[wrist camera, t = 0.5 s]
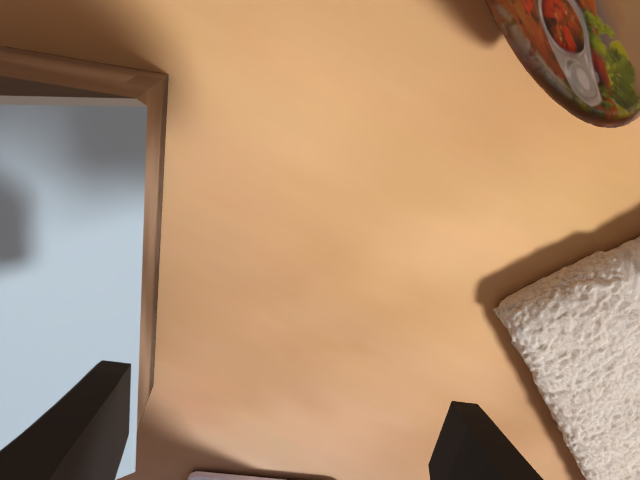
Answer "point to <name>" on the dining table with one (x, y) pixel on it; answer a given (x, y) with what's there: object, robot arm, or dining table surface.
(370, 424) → the dining table surface
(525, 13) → the tin
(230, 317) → the dining table surface
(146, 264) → the box
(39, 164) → the lid
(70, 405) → the robot arm
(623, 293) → the washcloth
